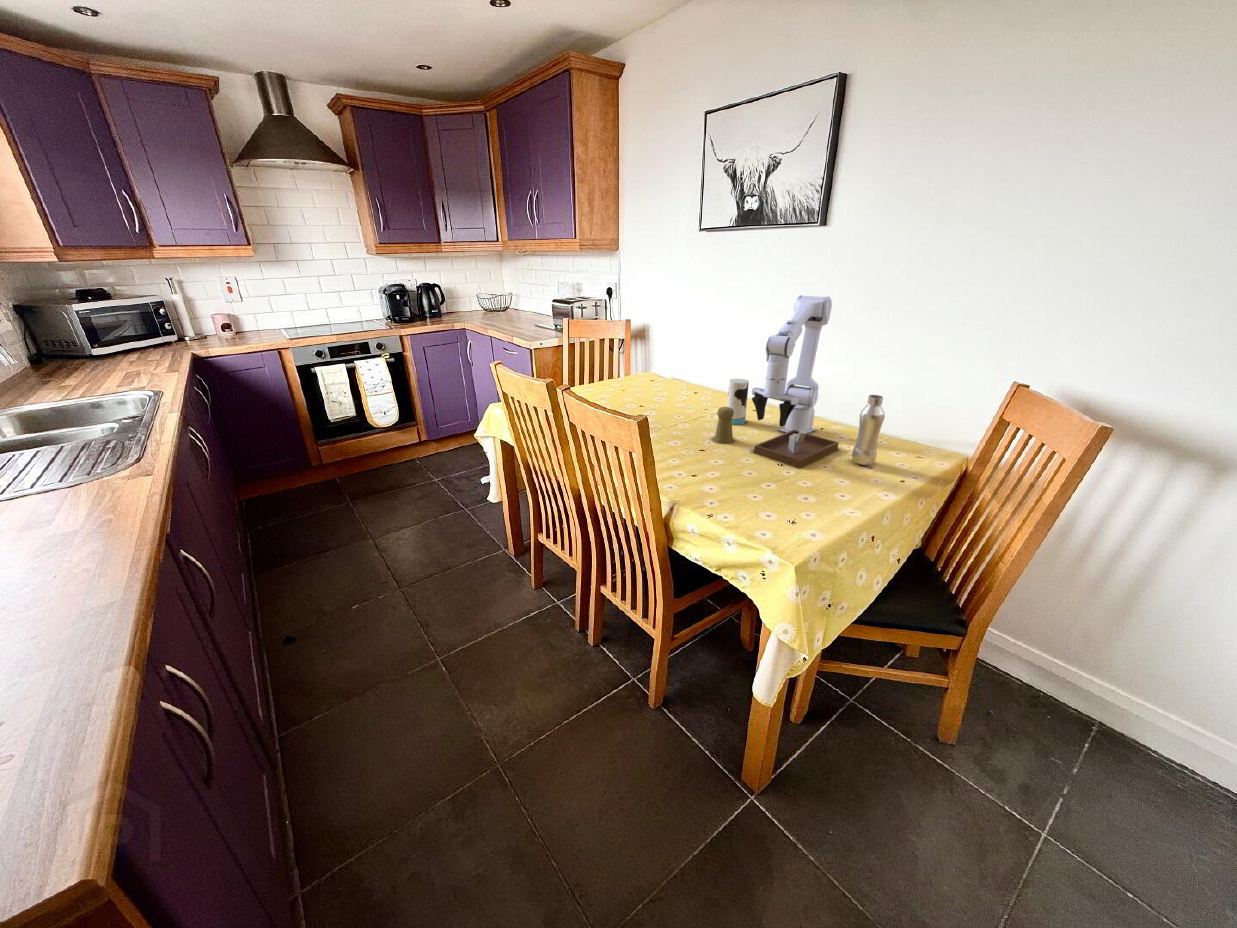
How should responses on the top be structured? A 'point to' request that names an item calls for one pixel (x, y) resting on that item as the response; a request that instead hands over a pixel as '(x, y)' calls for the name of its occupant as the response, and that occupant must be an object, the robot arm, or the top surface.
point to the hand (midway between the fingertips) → (771, 422)
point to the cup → (738, 399)
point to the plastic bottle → (869, 431)
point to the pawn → (724, 425)
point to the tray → (808, 449)
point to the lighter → (796, 441)
